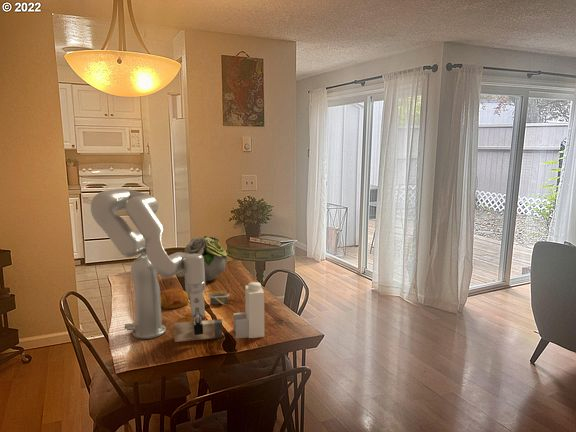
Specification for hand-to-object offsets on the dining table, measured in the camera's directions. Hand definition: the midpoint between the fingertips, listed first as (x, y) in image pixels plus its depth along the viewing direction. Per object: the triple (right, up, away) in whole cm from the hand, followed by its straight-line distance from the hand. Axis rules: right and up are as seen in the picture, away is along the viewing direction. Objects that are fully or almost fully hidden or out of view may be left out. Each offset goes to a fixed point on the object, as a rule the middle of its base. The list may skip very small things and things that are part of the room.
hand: (198, 329), depth 162 cm
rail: (0, -4, +1) cm, 4 cm away
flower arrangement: (-11, +8, +75) cm, 76 cm away
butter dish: (+2, +1, +36) cm, 36 cm away
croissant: (-20, +2, +36) cm, 41 cm away
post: (+19, -3, +6) cm, 20 cm away
